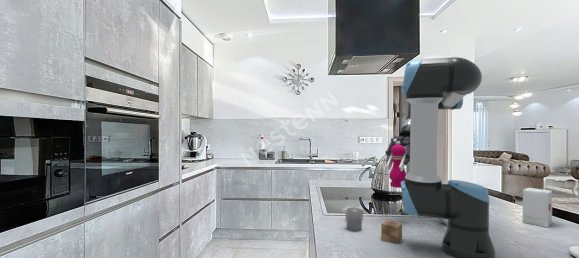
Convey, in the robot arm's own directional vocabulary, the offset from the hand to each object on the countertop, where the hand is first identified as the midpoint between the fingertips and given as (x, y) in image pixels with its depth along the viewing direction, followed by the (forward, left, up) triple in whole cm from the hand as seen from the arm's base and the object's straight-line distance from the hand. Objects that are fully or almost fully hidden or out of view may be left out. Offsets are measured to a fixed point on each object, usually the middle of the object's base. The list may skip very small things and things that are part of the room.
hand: (394, 168), depth 125 cm
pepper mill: (0, -4, -8) cm, 9 cm away
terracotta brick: (+15, +7, -24) cm, 30 cm away
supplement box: (-44, -50, -24) cm, 71 cm away
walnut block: (-7, +17, -24) cm, 31 cm away
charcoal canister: (+9, +17, -24) cm, 31 cm away
